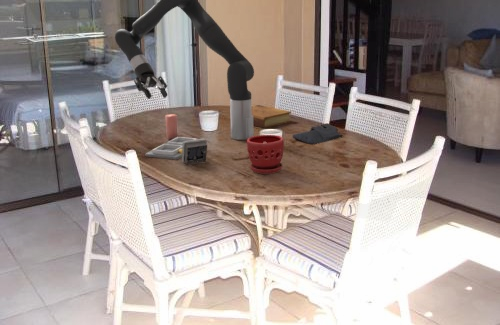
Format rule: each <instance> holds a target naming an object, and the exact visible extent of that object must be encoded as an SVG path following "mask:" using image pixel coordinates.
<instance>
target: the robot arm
mask: <svg viewBox="0 0 500 325" xmlns="http://www.w3.org/2000/svg"><path fill="white" fill-rule="evenodd" d="M176 7H178V8H179V9H180V10H181V11H183V12H184V13H185V14H186V16H187V17H189V19H190V21H191V22H192V24H193V27H194V29H195V31H196V33H197V34H198V36H199V37H200V38H201V40H202V41H203V43H205V45H206V46H207V47H208V48H209V49H211V50H212V51H213V52H214V53H216V54H217V55H219V56H220V57H222V58H223V59H224V60H225V62H226V63H228V64H229V65H228V67H227V71H226V79H227V80H226V81H227V91H228V95H229V108H230V109H229V110H230V113H229V115H230V116H229V117H230V138H231V139H232V140H238V141H240V140H241V141H243V140H245V141H246V140H247V139H248V138H250V137H253V136H255V135H254V126H253V115H252V109H251V106H252V92H251V91H250V90H249V89H248V82H249V81H250V80H252V79H253V77H254V76H255V69H254V66H253V65H252V63H251V62H250V60H248V59H247V58H246V56H244V55H243V54H242V53H241V52H240V51H239V50H238V49H237V47H236V46H235V44H234V43H233V42H232V41H231V40H230V37H228V36H227V35H226V33H225V32H224V31H223V29H222V28H221V26H220V25H219V24H218V22H216V20H214V18H212V16H211V15H210V14H209V12H207V11H206V9H205V8H203V6H202V5H201V3H200V1H198V0H158V1H157V2H156V3H155V4H154V5H153V6H152V7H151V8H150V9H149V10H147V11H146V12H145V13H143V15H141V16H140V17H139V18H137V19H136V20H135V21H134V22H133V23H132V30H131V31H128V30H127V29H124V28H120V29H118V30H117V31H116V32H115V34H114V40H115V43H116V44H117V46H118V47H119V49H120V50H121V51H122V52H123V54H124V56H126V57H127V60H128V62H129V64H130V67H131V68H132V70H133V72H134V74H135V76H136V77H135V79H134V80H133V82H134V84H135V87H136V89H137V90H138V92H142V93H143V94H144V95H145V97H146V99H148V100H150V99H151V98H152V96H153V95H152V93H151V92H150V90H149V88H154V89H155V90H158V91H159V92H160V94H161V96H162V97H163V99H166V98H167V97H168V93H167V90H166V89H167V87H168V85H167V83H166V81H165V80H164V78H163V77H162V76H161V75H160V76H159V77H157V76H156V75H155V71H154V69H153V67H152V65H151V63H150V62H149V61H148V58H146V56H145V54H144V52H143V50H142V49H141V48H140V47H139V46H138V44H140V42H141V41H142V39H143V38H144V37H145V35H147V34H148V33H149V32H151V31H152V30H153V29H154V28H155V27H156V26H157V25H158V24H159V23H160V21H161V20H162V19H163V18H164V16H165V15H166V14H168V12H170V11H172V10H173V9H175V8H176Z"/></svg>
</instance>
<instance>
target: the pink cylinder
mask: <svg viewBox="0 0 500 325" xmlns="http://www.w3.org/2000/svg"><path fill="white" fill-rule="evenodd" d="M164 116H165V131H166V134H165V135H166V139H168V140H173V139H175V138H177V137H179V131H178V128H179V127H178V115H177V114H171V113H170V114H166V115H164Z"/></svg>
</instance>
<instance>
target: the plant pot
mask: <svg viewBox="0 0 500 325" xmlns="http://www.w3.org/2000/svg"><path fill="white" fill-rule="evenodd" d="M284 146H285V144H284V137H282V136H280V135H276V134H261V135H254V136H253V137H250V138H248V139H246V148H247V153H248V158H249V161H250V163H251V164H250V167H249V168H250V170H252V171H253V172H254V173H257V174H265V175H267V174H274V173H275V174H276V173H278V172H279V171H281V170H282V168H283V163H282V159H283V157H284V156H283V155H284Z"/></svg>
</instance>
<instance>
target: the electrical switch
mask: <svg viewBox="0 0 500 325" xmlns="http://www.w3.org/2000/svg"><path fill="white" fill-rule="evenodd" d="M196 139H197V140H189V141H184V142H183V147H182V157H181V162H182V163H185V164H186V165H187V166H189V165H195V164H203V163H206V162H207V155H208V154H207V153H208V144H207V143H208V139H206V138H199V139H198V138H196Z"/></svg>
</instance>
